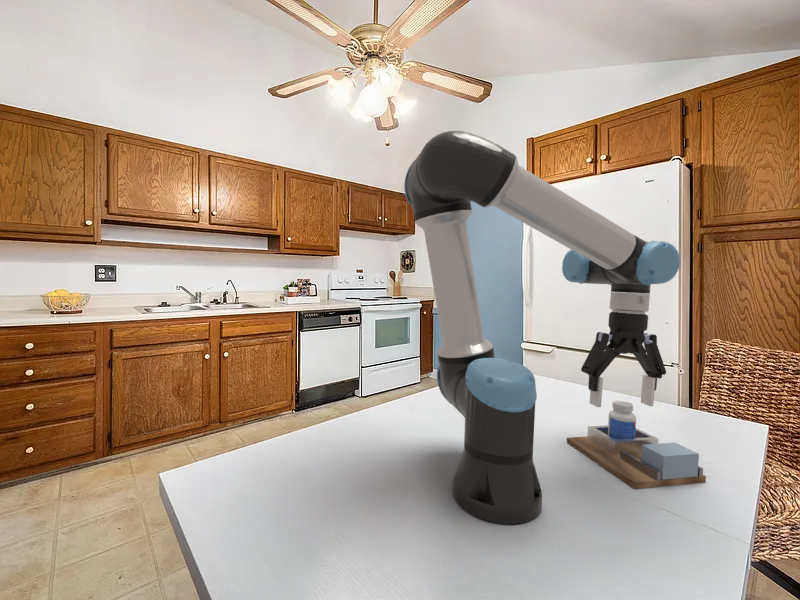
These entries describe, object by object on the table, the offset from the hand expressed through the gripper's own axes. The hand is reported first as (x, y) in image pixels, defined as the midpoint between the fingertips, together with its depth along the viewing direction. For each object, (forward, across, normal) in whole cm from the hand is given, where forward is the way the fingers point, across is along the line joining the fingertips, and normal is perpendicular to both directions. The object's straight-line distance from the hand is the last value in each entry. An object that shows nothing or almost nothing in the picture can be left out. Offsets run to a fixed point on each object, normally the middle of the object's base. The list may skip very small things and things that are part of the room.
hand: (621, 405), depth 84 cm
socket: (+9, +1, 0) cm, 9 cm away
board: (+11, -1, -4) cm, 12 cm away
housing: (+9, +1, -12) cm, 15 cm away
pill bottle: (+10, +1, 0) cm, 10 cm away
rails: (+9, +1, -10) cm, 14 cm away
